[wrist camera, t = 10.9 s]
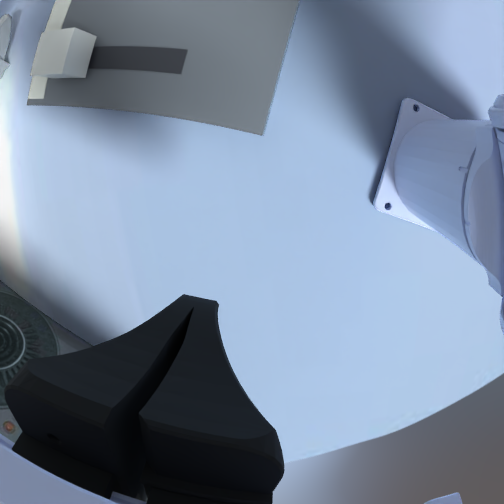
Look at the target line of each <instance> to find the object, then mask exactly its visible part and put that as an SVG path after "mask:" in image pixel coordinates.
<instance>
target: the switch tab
mask: <svg viewBox="0 0 504 504" xmlns="http://www.w3.org/2000/svg"><path fill="white" fill-rule="evenodd" d="M96 37H97V36H95V35H92V34H90V33H88V32H85V31H83V30H80V29H78V28H75V27H74V28H66V29H59V30H53V31H47V32H42V33H41V36H40V39H39V43H38V46H37V50H36V53H35V57H34V61H33V65H32V69H31V73H30V76H39V77H47V78H86V73H87V69H88V65H89V62H90V58H91V54H92V51H93V47H94V44H95V40H96Z"/></svg>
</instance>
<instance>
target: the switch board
mask: <svg viewBox="0 0 504 504" xmlns="http://www.w3.org/2000/svg"><path fill="white" fill-rule="evenodd" d="M299 3H300V0H56V1H55V3H54V6H53V8H52V11H51V14H50V17H49V19H48V22H47V25H46V28H45V31H44V32H47V31H53V30H59V29H66V28H74V27H75V28H78V29H80V30H83V31H85V32H88V33H90V34H92V35H95V36H97V37H96V40H95V44H94V47H93V51H92V54H91V58H90V62H89V65H88V69H87V73H86V78H47V77H39V76H32V80H31V85H30V90H29V95H28V100H27V105H47V106H72V107H88V108H100V109H111V110H121V111H130V112H138V113H145V114H153V115H160V116H166V117H173V118H179V119H185V120H190V121H196V122H201V123H207V124H212V125H217V126H222V127H226V128H231V129H236V130H240V131H244V132H249V133H253V134H257V135H261V136H264V132H265V128H266V124H267V121H268V117H269V113H270V109H271V105H272V102H273V98H274V94H275V90H276V87H277V83H278V79H279V75H280V72H281V68H282V64H283V61H284V57H285V53H286V50H287V46H288V42H289V39H290V35H291V31H292V28H293V24H294V21H295V17H296V14H297V10H298V6H299Z"/></svg>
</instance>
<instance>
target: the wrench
mask: <svg viewBox="0 0 504 504" xmlns="http://www.w3.org/2000/svg"><path fill="white" fill-rule="evenodd" d="M11 25H12V17H11V16H10V15H9V14H5V15H4V16H2V18H1V19H0V78H1V77H2V76H3V74H4V70H6V69H7V68H8V67H9V66H10V64H9V63H7V62H5V61H4V59H5V55H6V52H7V49H8V45H9V42H10V35H11Z"/></svg>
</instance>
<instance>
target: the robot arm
mask: <svg viewBox="0 0 504 504" xmlns="http://www.w3.org/2000/svg"><path fill="white" fill-rule="evenodd" d="M414 105H416V106H417V111H416V112H415V111H414V109H413V106H414ZM488 114H489V117H490V120H453V119H451V118H449V117H447V116H445V115H444V114H442V113H440V112H438V111H436V110H434V109H432V108H430V107H428V106H426V105H424V104H422V103H420V102H418V101H416V100H414V99H411V98H405V99H403V100H402V102H401V107H400V111H399V115H398V119H397V123H396V126H395V130H394V134H393V138H392V141H391V145H390V149H389V152H388V156H387V159H386V162H385V166H384V169H383V172H382V176H381V179H380V182H379V185H378V188H377V192H376V195H375V198H374V201H373V205H374V207H375V209H376V210H378V211H380V212H383V213H386V214H389V215H392V216H395V217H398V218H401V219H403V220H406V221H409V222H412V223H415V224H417V225H420V226H423V227H425V228H428V229H431V230H433V231H436V232H438V233H440V234H441V235H442V236H444V237H445V238H447V239H448V240H449V241H451V242H452V243H453V244H455V245H456V246H457V247H459V248H460V249H461V250H463V251H464V252H465V253H466V254H468V255H469V256H470V257H472V258H473V259H474V260H475V261H477V262H478V263H479V264H480V265H482V266H483V267H484V268H485V270H486V271H487V274H488V278H489V285H490V286H491V287H492V288H493V289H494V290H495V291H496V292H497V293H498V294H500V295H501V296H502V297H503V296H504V94H502V95H498V97H497V98H496V100H495V102H494V106H492V107H490V108H489V110H488ZM386 203H389V204H390V206H389V208H387V209H385V204H386ZM218 307H219V304H218V303H217V301H214V300H209V299H204V298H199V297H194V296H189V295H185V294H184V295H182V296H181V297H179V298H178V299H177V300H175V301H174V302H173V303H171V304H170V305H169V306H167V307H166V308H165V309H163V310H162V311H161V312H159V313H158V314H156V315H155V316H153V317H152V318H151V319H149V320H147V321H146V322H144V323H143V324H141V325H139V326H138V327H136V328H134V329H133V330H131V331H129V332H127V333H125V334H123V335H121V336H119V337H116V338H114V339H112V340H109V341H107V342H104V343H101V344H98V345H96V346H93V347H90V348H87V349H83V350H80V351H76V352H72V353H67V354H63V355H57V356H50V357H42V358H34V359H29V360H28V361H27V362H26V363H25V364H24V365H23V366H22V367H21V368H20V370H19V371H18V372H17V373H16V374H15V376H14V377H13V378H12V379H11V380H10V382H9V383H8V384H7V385H6V387H5V389H4V396H5V400H6V403H7V405H8V407H9V409H10V411H11V413H12V414H13V416H14V418H15V420H16V421H17V423H18V425H19V426H20V428H21V430H22V433H21V434H20V436H19V437H18V439H17V441H16V442H15V443H14V442H12V441H11V440H9V439H8V438H6V437H5V436H3V435H2V434H0V504H272V495H273V491H274V489H275V488H276V486H277V485H278V483H279V482H280V480H281V479H282V477H283V474H284V460H283V454H282V449H281V446H280V442H279V439H278V435H277V432H276V430H275V429H274V428H273V427H272V426H271V425H270V423H269V422H268V421H267V420H266V419H265V418H264V417H263V416H262V414H261V413H260V412H259V411H258V409H257V408H256V407H255V406H254V404H253V403H252V402H251V400H250V399H249V397H248V396H247V394H246V392H245V391H244V389H243V388H242V386H241V384H240V383H239V381H238V379H237V377H236V375H235V373H234V371H233V369H232V367H231V365H230V363H229V360H228V358H227V355H226V352H225V349H224V346H223V343H222V339H221V335H220V330H219V325H218ZM500 323H501V328H502V331H503V334H504V297H503V298H502V303H501V309H500ZM146 501H147V502H146ZM424 504H462V500H461V498H460V494H459V493H453V494H450V495H447V496H443V497H439V498H436V499H432V500H430V501H428V502H425V503H424Z"/></svg>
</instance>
